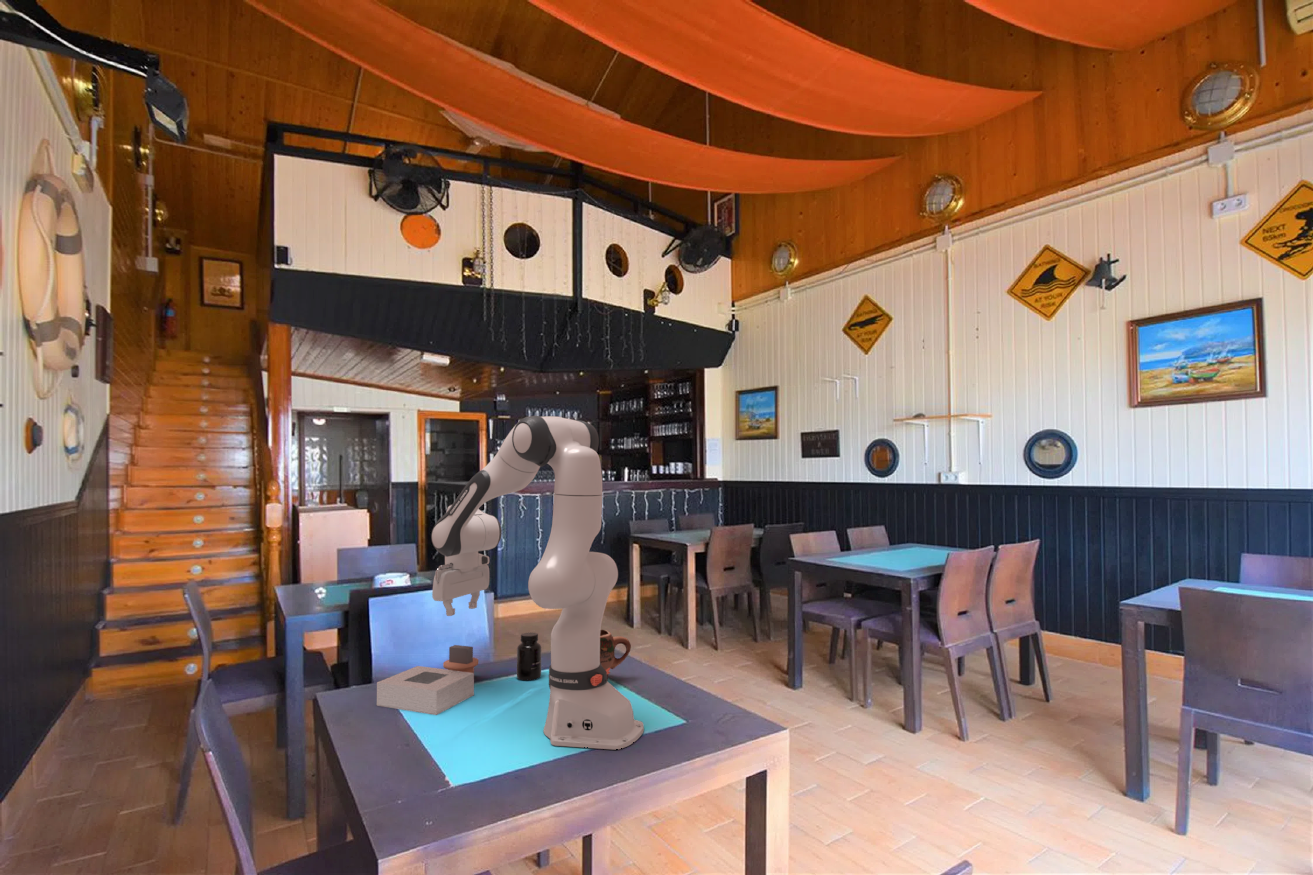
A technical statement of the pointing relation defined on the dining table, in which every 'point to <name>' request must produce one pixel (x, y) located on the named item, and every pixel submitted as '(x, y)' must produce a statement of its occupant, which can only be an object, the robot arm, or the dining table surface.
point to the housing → (425, 689)
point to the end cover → (461, 659)
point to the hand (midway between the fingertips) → (462, 611)
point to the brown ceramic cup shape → (611, 649)
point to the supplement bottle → (529, 657)
